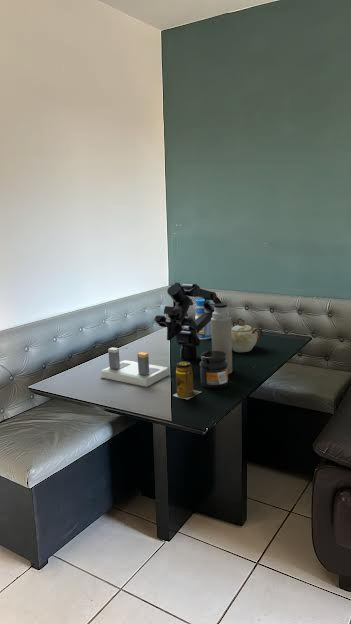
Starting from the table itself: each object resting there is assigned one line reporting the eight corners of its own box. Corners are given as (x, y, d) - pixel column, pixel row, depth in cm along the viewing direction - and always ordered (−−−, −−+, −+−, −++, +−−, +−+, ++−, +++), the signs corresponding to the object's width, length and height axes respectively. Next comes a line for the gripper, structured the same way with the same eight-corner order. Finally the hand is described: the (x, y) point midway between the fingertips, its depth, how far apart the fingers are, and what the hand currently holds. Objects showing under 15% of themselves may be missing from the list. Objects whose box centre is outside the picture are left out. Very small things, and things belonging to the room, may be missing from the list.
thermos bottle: (215, 367, 207) (213, 302, 201) (234, 368, 204) (232, 302, 198) (210, 374, 199) (208, 306, 193) (229, 375, 197) (228, 306, 191)
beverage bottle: (212, 339, 249) (211, 300, 245) (196, 340, 249) (194, 301, 245) (211, 335, 258) (210, 297, 253) (195, 335, 258) (194, 298, 253)
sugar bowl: (216, 352, 227) (215, 320, 224) (227, 343, 240) (226, 313, 237) (257, 356, 219) (257, 323, 216) (267, 347, 232) (266, 316, 229)
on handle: (113, 366, 204) (112, 347, 202) (120, 367, 202) (118, 348, 200) (109, 368, 202) (108, 348, 200) (116, 369, 200) (114, 350, 198)
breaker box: (125, 366, 214) (124, 359, 213) (168, 374, 201) (168, 367, 200) (101, 377, 202) (100, 369, 201) (146, 386, 189) (146, 378, 188)
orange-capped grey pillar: (142, 371, 196) (141, 352, 194) (149, 373, 194) (148, 353, 192) (138, 373, 194) (137, 353, 192) (145, 374, 192) (144, 354, 190)
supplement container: (227, 389, 182) (226, 358, 179) (198, 389, 184) (197, 358, 181) (229, 379, 192) (228, 350, 190) (202, 379, 194) (201, 350, 191)
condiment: (171, 395, 179) (170, 364, 176) (186, 388, 185) (185, 358, 183) (187, 400, 174) (186, 367, 172) (202, 392, 181) (200, 361, 178)
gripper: (155, 296, 212) (141, 327, 205) (191, 299, 201) (178, 332, 195) (166, 310, 220) (153, 341, 213) (202, 314, 209) (190, 346, 203)
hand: (168, 340), depth 206 cm, fingers closed
